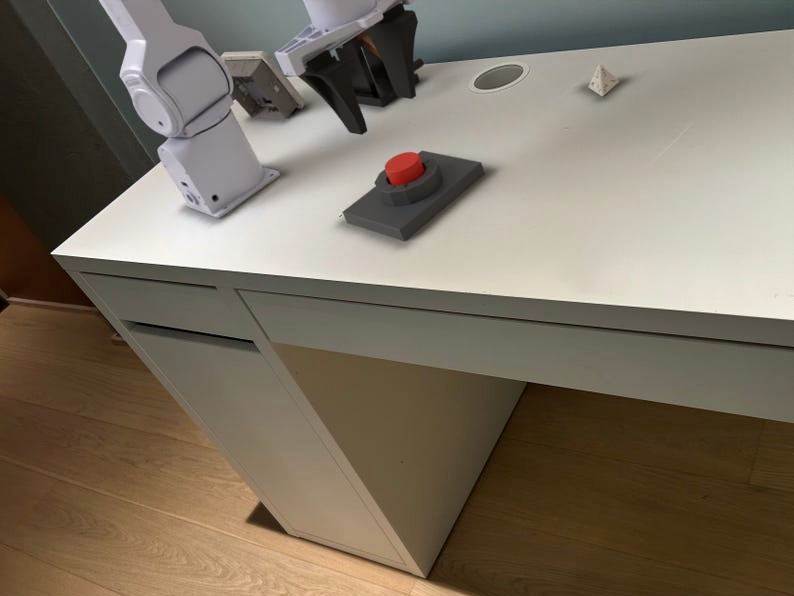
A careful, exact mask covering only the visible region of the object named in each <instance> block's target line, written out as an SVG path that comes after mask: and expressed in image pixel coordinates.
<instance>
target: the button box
mask: <svg viewBox="0 0 794 596" xmlns="http://www.w3.org/2000/svg"><path fill="white" fill-rule="evenodd" d="M417 154H418V155H419V157H420V160H421V163H422V165H423V168H424V174H423V175H422V176H420V177H419V178H418V179H417V180H415V181H413V182H410V183H408V184H404V185H397V186H394V185H392V184H391V183H390V180H389V178H388V175H387V173H386V171H385V168H384V169H383V170H381V171H380V172H378V175H377V177H376V178H375V180H374V185H375V186H374V187H373V188H371V189H370V190H368V191H367V192H366V193H365V194H363V195H362V196H361V197H360V198H358V199H357V200H355V202H353V203H352V204H350V206H348V207H347V208H346V209H344V210H343V211H341V212H342V214H343V217H344V219H345V221H346V223H347V224H350V225H352V226H355V227H359V228H362V229H365V230H367V231H371V232H375V233H377V234H381V235H384V236H385V237H388V238H389V237H390V238H393V239H395V240H399V241H402V242H406V241H407V240H408V239H409V238H411V237H412V236H413V235H414V234H415V233H417V232H418V231H419V230H420V229H421V228H422V227H424V226H425V225H426V224H427V223H428V222H430V221H431V220H432V219H433V218H434V217H435V216H437V215H438V214H440V213H441V212H442V211H443V210H444V209H445V208H447V206H449V205H450V204H451V203H452V202H454V201H455V200H456V199H457V198H458V197H459V196H460V195H462V194H463V193H464V192H465V191H466V190H468V189H469V188H470V187H471V186H472V185H474V184H475V183H476V182H478V181H479V180H480V179H481V178H482V177H483V176H484V175H485V170H484V166H483V163H482V162H481V161H476V160H471V159H466V158H462V157H457V156H451V155H446V154H441V153H437V152H431V151H427V150H420V151H419V152H417Z"/></svg>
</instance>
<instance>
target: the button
mask: <svg viewBox="0 0 794 596" xmlns="http://www.w3.org/2000/svg"><path fill="white" fill-rule="evenodd" d="M384 169H385V171H386V173H387V175H388V178H389V180H390V183H391V184H392V185H394V186H397V185H404V184H408V183H410V182H413V181H415V180H417V179H418V178H419V177H420V176H422V175H423V174H424V168H423V165H422V163H421V160H420V157H419V155H418V152H414V151H406V152H402V153H398V154H397V155H395V156H392V157H391V158H390V159H388V160H387V161H386V162H385V164H384Z"/></svg>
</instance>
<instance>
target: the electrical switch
mask: <svg viewBox="0 0 794 596" xmlns="http://www.w3.org/2000/svg"><path fill="white" fill-rule="evenodd" d="M219 57H220V58H221V59H222V60H223V61H224V62H225V64H226V65H227V67H228V69H229V71H230V74H231V77H232V80H233V91H232V94H231V95H230V96H231V97H233V99H235V102H237V103H238V104H239V105H240V107H242V109H243V111H245V112H246V113H247V114H248V115H249V116H250V118H253V117H254V118H269V119H286V120H287V119H288V118H289V117H290V115H291V114H293V112H294V111H295V109H304V107H305V105H306V100H305V99H304V97H302V95H301V94H300V93H299V91H298V90H297V88H295V86H294V85H293V84H292V82H291V81H290V80H289V79H288V78H287V75H284V73H283V71H282V69H281V68H280V66H278V65H277V63H276V62H275V61H274V60H273V58H272V57H271V55H269V53H267V52H266V51H264V50H250V51H248V50H246V51H224V52H223V53H222V54H221V55H220V56H219Z"/></svg>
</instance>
